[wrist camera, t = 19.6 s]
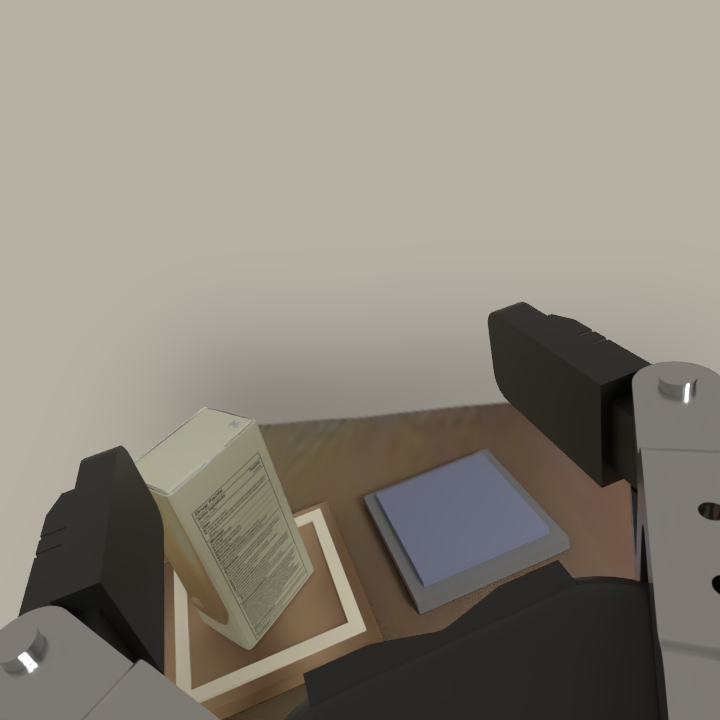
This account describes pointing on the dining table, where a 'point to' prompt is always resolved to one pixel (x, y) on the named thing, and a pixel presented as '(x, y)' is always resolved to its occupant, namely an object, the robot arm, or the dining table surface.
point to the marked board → (272, 629)
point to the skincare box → (226, 523)
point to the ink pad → (461, 528)
